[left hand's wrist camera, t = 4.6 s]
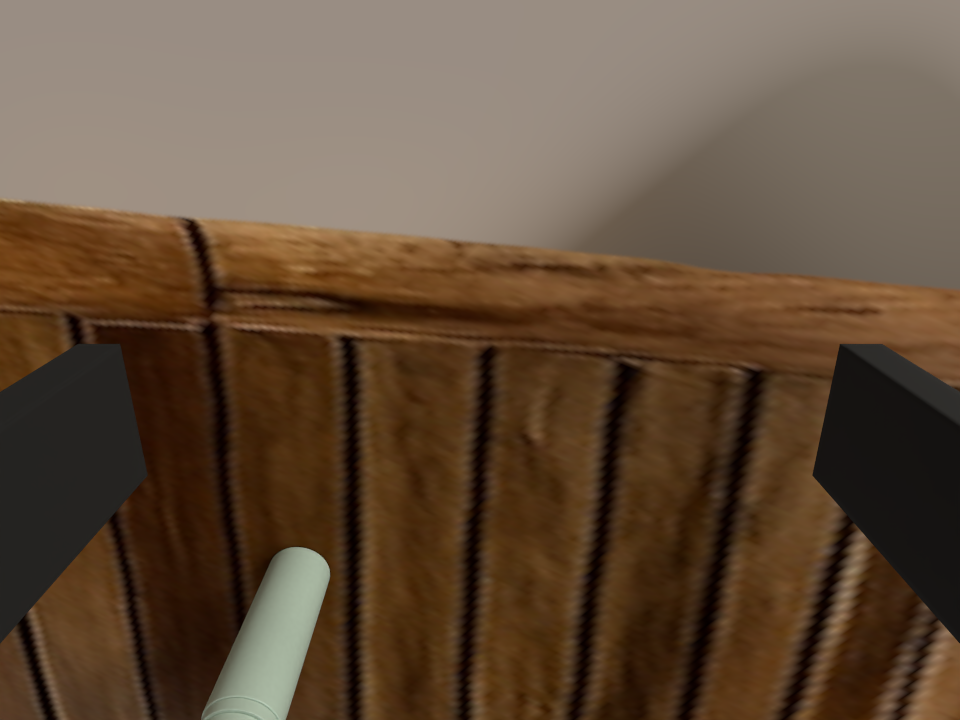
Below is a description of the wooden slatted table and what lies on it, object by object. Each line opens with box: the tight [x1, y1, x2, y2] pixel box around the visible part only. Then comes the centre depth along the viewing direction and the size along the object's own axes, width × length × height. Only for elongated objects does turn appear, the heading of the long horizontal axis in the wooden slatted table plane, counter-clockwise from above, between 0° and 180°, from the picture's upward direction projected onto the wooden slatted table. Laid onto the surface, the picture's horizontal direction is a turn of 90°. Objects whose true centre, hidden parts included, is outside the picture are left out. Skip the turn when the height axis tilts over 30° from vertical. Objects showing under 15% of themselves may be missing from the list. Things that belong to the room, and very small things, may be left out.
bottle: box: [201, 547, 330, 720], centre depth 40 cm, size 4×4×18 cm
